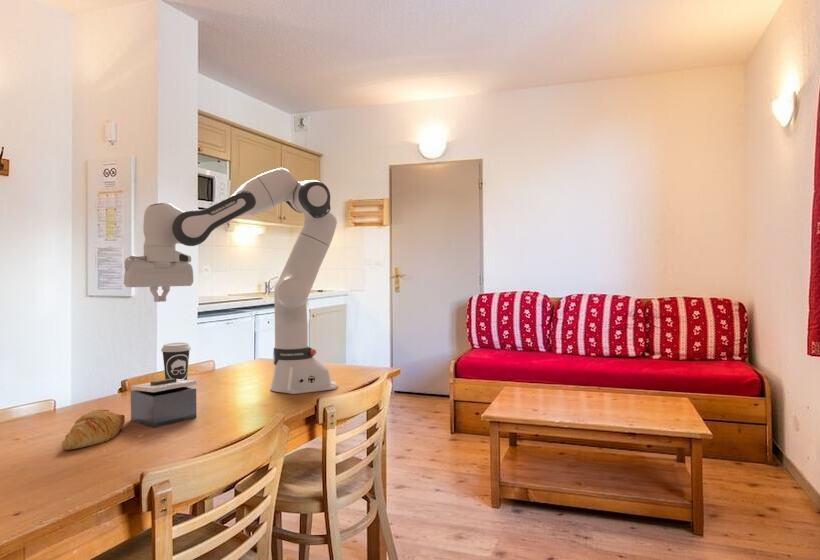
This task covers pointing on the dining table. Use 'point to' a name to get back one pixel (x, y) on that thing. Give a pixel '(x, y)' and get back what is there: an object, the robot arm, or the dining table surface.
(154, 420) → the grey box
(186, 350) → the coffee cup
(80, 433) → the croissant
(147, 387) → the lid
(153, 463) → the dining table surface
